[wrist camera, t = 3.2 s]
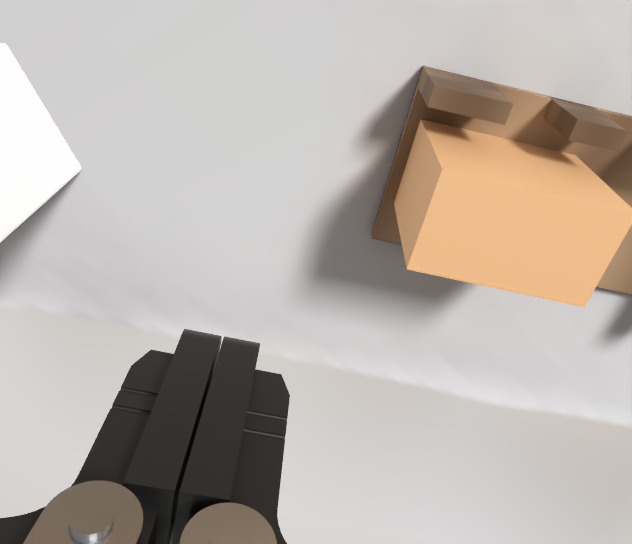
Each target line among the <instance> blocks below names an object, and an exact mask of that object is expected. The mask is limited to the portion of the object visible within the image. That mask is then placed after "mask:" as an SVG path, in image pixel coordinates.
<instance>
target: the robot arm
mask: <svg viewBox="0 0 632 544" xmlns="http://www.w3.org/2000/svg"><path fill="white" fill-rule="evenodd" d="M220 345H221V336H218V335H213V334H208V333H203V332H198V331H192V330H187V329H184V331H183V333H182V335H181V338H180V340H179V343H178V345H177V348H176V350H175V353H174V354H170V353H165V352H160V351H155V350H150V351H149V352H148V353H147V354H145V355H144V356H143V357H142V358H140V359H139V360H138V361H137V362H135V363H134V364H133V365H132V366H131V368H130V370H129V372H128V374H127V376H126V378H125V380H124V382H123V384H122V386H121V390H120V391H119V393H118V395H117V397H116V399H115V401H114V403H113V406H112V409H110V411H109V413H108V415H107V417H106V419H105V421H104V424H103V426H102V428H101V430H100V432H99V434H98V436H97V438H96V440H95V442H94V444H93V446H92V448H91V451H90V452H89V454H88V457H87V459H86V461H85V463H84V465H83V467H82V469H81V471H80V473H79V475H78V477H77V479H76V480H75V482H74V483H73V485H72V486H71V487H69V488H68V489H66V490H64V491H63V492H61V493H60V494H58V495H57V496H56V497H54V498H53V499H52V500H51V501H50V502H49V503H48V505H47V506H46V507H44V508H41V509H39V510H37V511H35V512H31V513H28V514H25V515H20V516H15V517H8V518H0V544H287V543H286V542H285V540H284V538H283V536H282V534H281V532H280V528H279V525H278V519H277V508H278V498H279V489H280V479H281V470H282V461H283V452H284V443H285V434H286V425H287V416H288V406H289V397H290V395H289V392H288V390H287V388H286V385H285V382H284V380H283V378H282V375H281V374H276V373H271V372H266V371H261V370H255V367H256V362H257V357H258V352H259V347H260V343H255V342H250V341H245V340H239V339H234V338H229V337H224V339H223V342H222V345H221V349H220ZM219 351H220V352H219Z"/></svg>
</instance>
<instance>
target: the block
mask: <svg viewBox="0 0 632 544" xmlns="http://www.w3.org/2000/svg"><path fill="white" fill-rule="evenodd" d="M394 206H395V211H396V217H397V222H398V227H399V232H400V237H401V243H402V248H403V253H404V258H405V263H406V269H407V270H412V271H416V272H421V273H426V274H431V275H435V276H440V277H445V278H449V279H454V280H459V281H464V282H468V283H473V284H478V285H482V286H487V287H492V288H496V289H501V290H506V291H511V292H515V293H520V294H525V295H529V296H534V297H539V298H544V299H548V300H553V301H558V302H562V303H567V304H572V305H576V306H581V307H585V305H586V304H587V302H588V300H589V298H590V297H591V295H592V293H593V291H594V290H595V288H596V286H597V284H598V283H599V281H600V279H601V277H602V276H603V274H604V272H605V270H606V269H607V267H608V265H609V263H610V262H611V260H612V258H613V256H614V255H615V253H616V251H617V249H618V248H619V246H620V244H621V242H622V241H623V239H624V237H625V235H626V234H627V232H628V230H629V228H630V227H631V225H632V208H631V207H630V206H629V205H628V204H627V203H626V202H625V201H624V200H623V199H622V198H621V197H620V196H618V195H617V194H616V193H615V192H614V191H613V190H612V189H611V188H610V187H609V186H608V185H607V184H606V183H605V182H604V181H602V180H601V179H600V178H599V177H598V176H597V175H596V174H595V173H594V172H593V171H592V170H591V169H590V168H589V167H588V166H587V165H585V164H584V163H583V162H582V161H581V160H580V159H579V158H578V157H577V156H576V155H573V154H568V153H564V152H560V151H555V150H551V149H547V148H543V147H538V146H534V145H530V144H526V143H521V142H517V141H513V140H509V139H504V138H500V137H496V136H491V135H487V134H483V133H479V132H474V131H470V130H466V129H462V128H457V127H453V126H449V125H444V124H440V123H436V122H432V121H427V120H423V119H421V120H420V123H419V126H418V129H417V132H416V135H415V139H414V142H413V145H412V148H411V151H410V154H409V157H408V160H407V164H406V167H405V170H404V173H403V176H402V179H401V182H400V186H399V189H398V192H397V195H396V198H395V201H394Z"/></svg>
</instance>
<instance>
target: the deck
mask: <svg viewBox="0 0 632 544" xmlns="http://www.w3.org/2000/svg"><path fill="white" fill-rule="evenodd" d="M421 119H423V120H427V121H432V122H436V123H440V124H444V125H449V126H453V127H457V128H462V129H466V130H470V131H474V132H479V133H483V134H487V135H491V136H496V137H500V138H504V139H509V140H513V141H517V142H521V143H526V144H530V145H534V146H538V147H543V148H547V149H551V150H555V151H560V152H564V153H568V154H573V155H576V156H577V157H578V158H579V159H580V160H581V161H582V162H583V163H584V164H585V165H587V166H588V167H589V168H590V169H591V170H592V171H593V172H594V173H595V174H596V175H597V176H598V177H599V178H600V179H601V180H602V181H604V182H605V183H606V184H607V185H608V186H609V187H610V188H611V189H612V190H613V191H614V192H615V193H616V194H617V195H618V196H620V197H621V198H622V199H623V200H624V201H625V202H626V203H627V204H628V205H629V206H630V207H631V208H632V116H628V115H624V114H620V113H615V112H611V111H607V110H603V109H599V108H595V107H591V106H586V105H582V104H578V103H574V102H570V101H566V100H562V99H558V98H553V97H549V96H545V95H541V94H537V93H533V92H529V91H524V90H520V89H516V88H512V87H508V86H504V85H500V84H496V83H491V82H487V81H483V80H479V79H475V78H471V77H467V76H462V75H458V74H454V73H450V72H446V71H442V70H438V69H434V68H429V67H425V66H422V70H421V73H420V76H419V79H418V83H417V86H416V89H415V93H414V96H413V99H412V102H411V106H410V109H409V112H408V115H407V119H406V122H405V125H404V129H403V132H402V135H401V138H400V142H399V145H398V148H397V152H396V155H395V158H394V161H393V165H392V168H391V171H390V174H389V178H388V181H387V184H386V188H385V191H384V194H383V197H382V201H381V204H380V207H379V211H378V214H377V217H376V220H375V224H374V227H373V230H372V239H377V240H382V241H386V242H391V243H396V244H400V245H402V243H401V237H400V232H399V227H398V222H397V217H396V211H395V206H394V201H395V198H396V195H397V192H398V189H399V186H400V182H401V179H402V176H403V173H404V170H405V167H406V164H407V160H408V157H409V154H410V151H411V148H412V145H413V142H414V139H415V135H416V132H417V129H418V126H419V123H420V120H421ZM596 287H599V288H604V289H609V290H613V291H618V292H623V293H627V294H632V225H631V227H630V228H629V230H628V232H627V234H626V235H625V237H624V239H623V241H622V242H621V244H620V246H619V248H618V249H617V251H616V253H615V255H614V256H613V258H612V260H611V262H610V263H609V265H608V267H607V269H606V270H605V272H604V274H603V276H602V277H601V279H600V281H599V283H598V284H597V286H596Z"/></svg>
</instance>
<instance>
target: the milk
mask: <svg viewBox="0 0 632 544" xmlns="http://www.w3.org/2000/svg"><path fill="white" fill-rule="evenodd" d="M81 170H82V167H81V166H80V164H79V162H78V161H77V159H76V157H75V156H74V154H73V152H72V151H71V149H70V147H69V146H68V144H67V142H66V141H65V139H64V138H63V136H62V134H61V133H60V131H59V129H58V128H57V126H56V124H55V123H54V121H53V119H52V118H51V116H50V115H49V113H48V111H47V110H46V108H45V106H44V105H43V103H42V101H41V100H40V98H39V96H38V95H37V93H36V92H35V90H34V88H33V87H32V85H31V83H30V82H29V80H28V78H27V77H26V75H25V73H24V72H23V70H22V69H21V67H20V65H19V64H18V62H17V60H16V59H15V57H14V55H13V54H12V52H11V50H10V49H9V47H8V46H7V44H6V43H0V243H1V242H2V241H3V240H4V239H5V238H6V237H7V236H8V235H9V234H11V233H12V232H13V231H14V230H15V229H16V228H17V227H18V226H20V225H21V224H22V223H23V222H24V221H25V220H26V219H27V218H28V217H30V216H31V215H32V214H33V213H34V212H35V211H36V210H37V209H39V208H40V207H41V206H42V205H43V204H44V203H45V202H46V201H47V200H49V199H50V198H51V197H52V196H53V195H54V194H55V193H56V192H58V191H59V190H60V189H61V188H62V187H63V186H64V185H65V184H66V183H68V182H69V181H70V180H71V179H72V178H73V177H74V176H75V175H77V174H78V173H79V172H80V171H81Z"/></svg>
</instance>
